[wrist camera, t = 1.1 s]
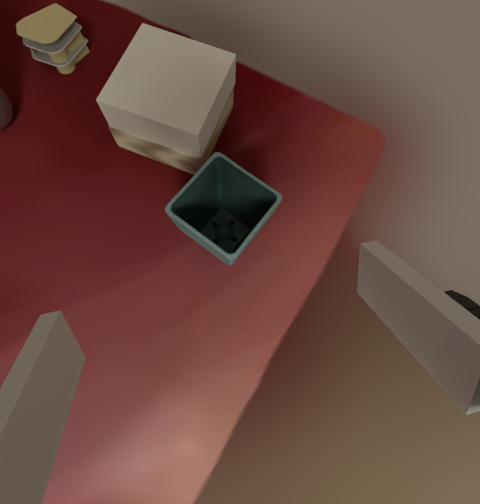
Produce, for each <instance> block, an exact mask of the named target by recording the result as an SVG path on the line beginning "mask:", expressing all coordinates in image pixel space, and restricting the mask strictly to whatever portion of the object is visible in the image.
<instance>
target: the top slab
mask: <svg viewBox="0 0 480 504" xmlns="http://www.w3.org/2000/svg"><path fill="white" fill-rule="evenodd" d="M235 73H236V54H234V53H231V52H228V51H225V50H222V49H219V48H216V47H213V46H210V45H207V44H204V43H201V42H198V41H195V40H192V39H189V38H186V37H183V36H180V35H177V34H174V33H171V32H168V31H165V30H162V29H159V28H156V27H153V26H150V25H147V24H144V23H142V25H141V26H140V28H139V29H138V31H137V33H136V34H135V36H134V38H133V39H132V41H131V43H130V44H129V46H128V48H127V49H126V51H125V53H124V54H123V56H122V58H121V59H120V61H119V63H118V64H117V66H116V68H115V69H114V71H113V73H112V74H111V76H110V78H109V79H108V81H107V82H106V84H105V86H104V87H103V89H102V91H101V92H100V94H99V96H98V97H97V99H96V101H97V103H98V105H99V107H100V109H101V111H102V112H103V114H104V116H105V118H106V120H107V122H108V124H109V126H110V127H112V128H115V129H118V130H121V131H124V132H127V133H129V134H132V135H135V136H138V137H141V138H144V139H146V140H149V141H152V142H155V143H158V144H161V145H164V146H166V147H169V148H172V149H175V150H178V151H181V152H184V153H186V154H189V155H192V156H195V157H198V158H201V157H202V155H203V153H204V151H205V148H206V146H207V144H208V142H209V140H210V138H211V135H212V133H213V131H214V129H215V127H216V124H217V122H218V120H219V118H220V116H221V113H222V111H223V109H224V107H225V105H226V103H227V100H228V98H229V96H230V94H231V92H232V89H233V87H234V85H235Z"/></svg>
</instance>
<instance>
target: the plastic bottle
mask: <svg viewBox="0 0 480 504" xmlns="http://www.w3.org/2000/svg"><path fill="white" fill-rule="evenodd" d="M12 116H13V106H12V104H11V102H10V100H9V99H8V97H7V95H6V94H5V92H4V91H3V90H1V89H0V130H2V129H4V128H5V127H6V126H7V125H8V124H9V123H10V121H11V120H12Z"/></svg>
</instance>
